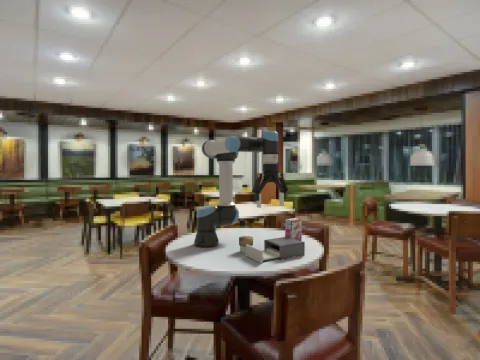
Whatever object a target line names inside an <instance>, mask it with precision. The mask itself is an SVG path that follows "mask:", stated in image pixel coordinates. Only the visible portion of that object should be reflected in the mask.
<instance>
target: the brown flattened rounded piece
mask: <svg viewBox="0 0 480 360" xmlns="http://www.w3.org/2000/svg"><path fill="white" fill-rule="evenodd" d="M246 244H248V245H250V246H254V237H253V236H252V235H251V236H250V235H242V236H239V237H238V246H239V247H240V246H244V247H246Z"/></svg>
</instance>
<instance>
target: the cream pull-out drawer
mask: <svg viewBox="0 0 480 360" xmlns="http://www.w3.org/2000/svg"><path fill="white" fill-rule="evenodd" d="M245 256H246V257H248V258H250V259H252V260H254V261H255V262H257V263H260V264H263V262H264V261H268V260H273V259H278V258H279V257H280V251H278V250H276V249H273V248H266V250H261V249H259V248H257V247H255V246H254V245H252V246H250V245H248V244H246V253H245Z"/></svg>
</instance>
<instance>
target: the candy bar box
mask: <svg viewBox="0 0 480 360" xmlns="http://www.w3.org/2000/svg"><path fill="white" fill-rule="evenodd" d="M284 221H285V223H284V225H285V226H284V237H290V238H293V239H296V240H299V241H302V239H303V238H302V234H303V233H302V231H303V218H299V217H294V218H287V219H284Z"/></svg>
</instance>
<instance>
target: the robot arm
mask: <svg viewBox="0 0 480 360" xmlns="http://www.w3.org/2000/svg"><path fill="white" fill-rule="evenodd" d="M201 152H202V154H203V155H204V156H205V157H206V158H209V159H212V160H213V159H216V163H217V164H218V171H219V172H218V182H219V183H218V184H219V185H218V190H219V191H218V194H219V197H218V198H219V202H218V203H217V204H216V206H215V205H206V206H202V207H199V208H198V209H197V210H196V234H195V237H194V241H193V246H195V247H197V248H214V247H217V246H219V243H220V242H219V238H218V234H217V231H216V230H217V227H224V226H231V225H233V226H234V225H235V224H236V223H238V221H239V217H240V212H239V208H238V207H237V206H236V203H235V202H234V192H233V191H234V189H233V188H234V185H233V183H234V182H233V180H234V179H233V178H234V177H233V173H234V170H233V169H234V167H233V164H234V163H235V162H236V159H238V157H239V153H242V152H243V153H253V154H254V153H257V154H258V153H262V163H263V164H262V172H263V173H262V172H260V173H257V177H256V180H255V182H254V185H253V187H252V188H251V193H253V194H254V195H255V198H254V199H255V200H254V201H256V208H259V209H261V208H262V194H261V192H262V190H263V189H264V188H265V186H266V185H267V184H268V183H274V185H275V186H276V187H277V189H278V190H279V192H278V193H279V194H278V195H279V196H278V197H279V198H278V201H279V203H278V204H279V205H278V206H281V207H284V206H285V202H284V201H285V198H286V194H287V192H289V187H288V185H287V183H286V180H285V178H284V173H283V172H279V173H278V171H279V164H278V163H279V133H278V132H277V131H273V130H268V131H267V130H266V131H263V132H262V136H261V137H253V136H239V135H238V136H237V135H229V136H227V137H226V138H222V139H208V140H206V141H204V142H203V143H202V145H201Z"/></svg>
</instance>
